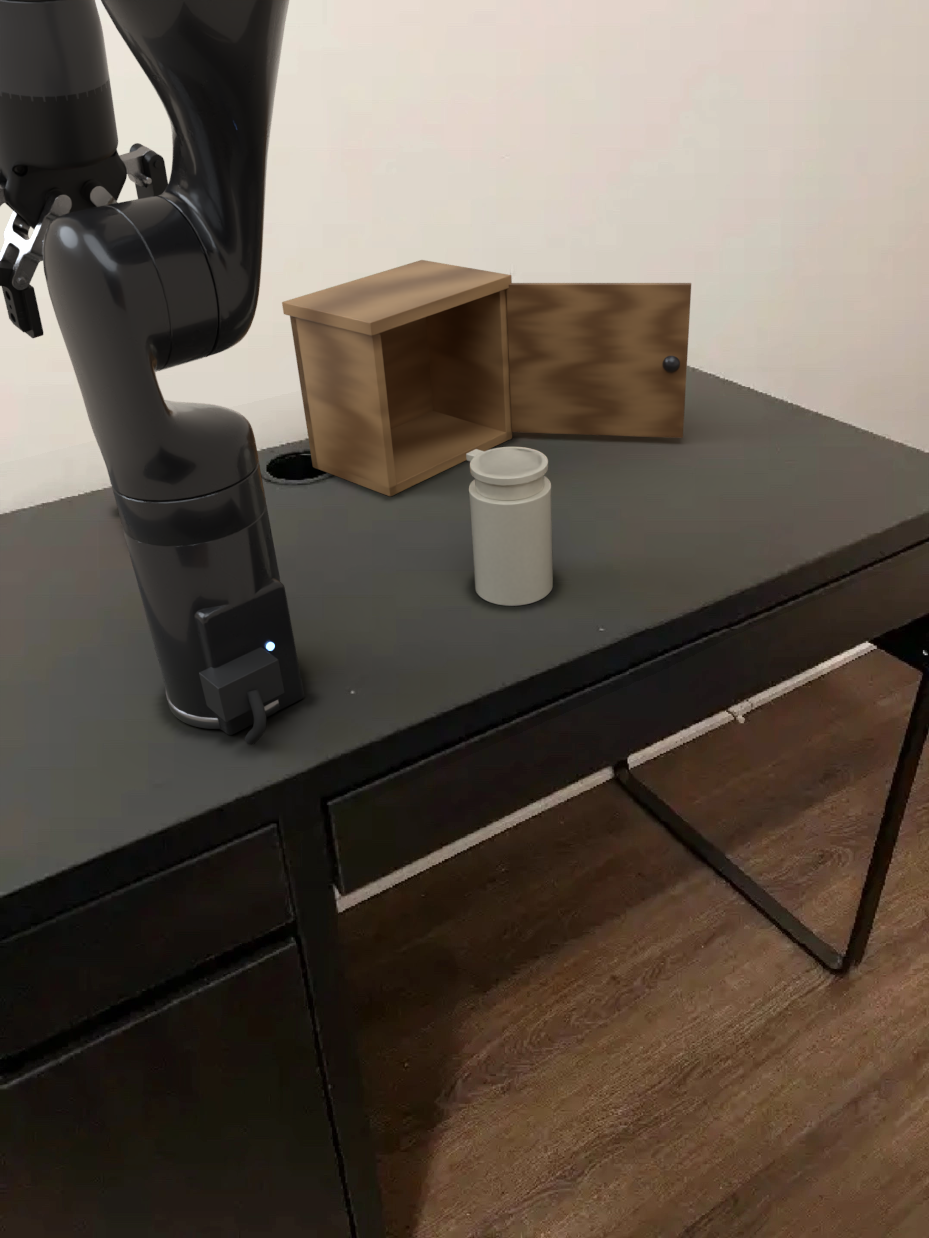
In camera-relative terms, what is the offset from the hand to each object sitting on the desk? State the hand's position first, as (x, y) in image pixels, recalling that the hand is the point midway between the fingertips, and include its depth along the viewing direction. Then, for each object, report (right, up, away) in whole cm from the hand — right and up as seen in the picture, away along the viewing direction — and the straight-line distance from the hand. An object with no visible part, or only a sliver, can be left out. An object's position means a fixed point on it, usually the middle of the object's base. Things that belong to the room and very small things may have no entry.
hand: (88, 315), depth 74 cm
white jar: (+31, -19, +11) cm, 38 cm away
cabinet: (+30, -5, +34) cm, 45 cm away
